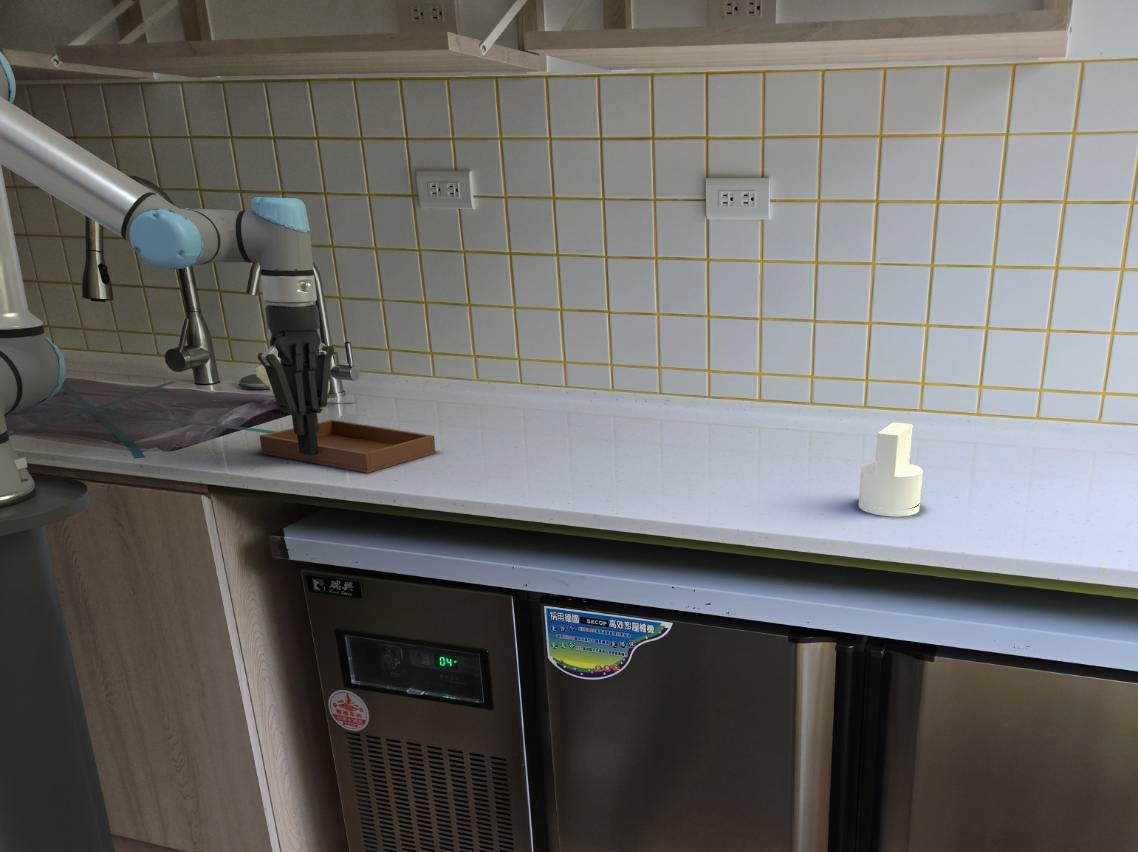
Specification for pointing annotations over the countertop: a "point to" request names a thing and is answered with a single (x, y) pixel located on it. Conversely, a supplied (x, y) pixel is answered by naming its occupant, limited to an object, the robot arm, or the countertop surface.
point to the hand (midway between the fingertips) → (309, 453)
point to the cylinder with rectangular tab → (891, 475)
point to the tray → (352, 446)
